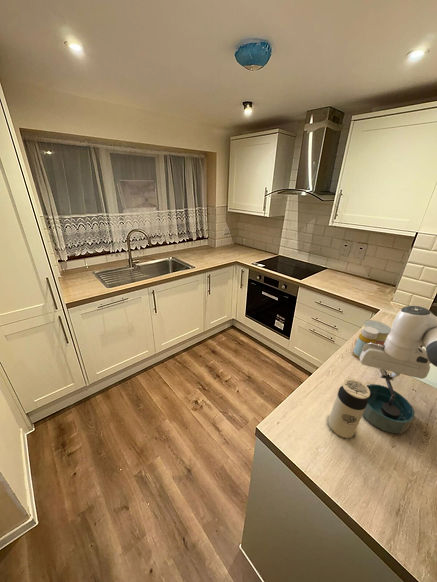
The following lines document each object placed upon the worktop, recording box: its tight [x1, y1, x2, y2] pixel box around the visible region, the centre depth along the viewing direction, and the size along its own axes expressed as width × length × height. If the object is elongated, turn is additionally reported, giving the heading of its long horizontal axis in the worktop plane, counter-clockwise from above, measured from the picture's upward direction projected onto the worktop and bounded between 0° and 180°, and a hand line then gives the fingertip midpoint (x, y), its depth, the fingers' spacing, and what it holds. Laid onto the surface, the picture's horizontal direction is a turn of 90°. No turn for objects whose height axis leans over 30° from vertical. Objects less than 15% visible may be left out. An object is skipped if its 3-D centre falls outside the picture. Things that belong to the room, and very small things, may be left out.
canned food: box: [360, 319, 391, 345], centre depth 115 cm, size 11×11×12 cm
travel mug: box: [327, 377, 370, 439], centre depth 74 cm, size 8×8×18 cm
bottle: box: [352, 326, 379, 360], centre depth 108 cm, size 7×7×15 cm
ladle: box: [381, 370, 400, 420], centre depth 84 cm, size 5×17×7 cm, turn 159°
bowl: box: [362, 383, 416, 434], centre depth 82 cm, size 15×15×6 cm
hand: (385, 378), depth 88 cm, fingers closed on ladle
